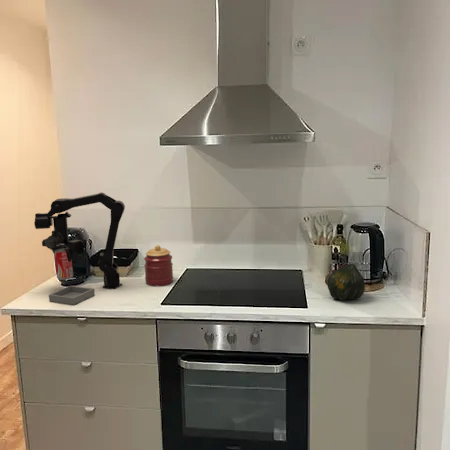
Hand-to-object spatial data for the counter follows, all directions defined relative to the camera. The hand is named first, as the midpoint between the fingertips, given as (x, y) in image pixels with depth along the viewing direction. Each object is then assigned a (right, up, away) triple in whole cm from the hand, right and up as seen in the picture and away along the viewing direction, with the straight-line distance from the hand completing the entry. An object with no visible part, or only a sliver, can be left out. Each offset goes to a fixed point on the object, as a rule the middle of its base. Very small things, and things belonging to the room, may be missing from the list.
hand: (63, 262), depth 212 cm
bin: (+7, -15, -10) cm, 19 cm away
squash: (+121, -13, -17) cm, 123 cm away
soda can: (0, -7, +1) cm, 8 cm away
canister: (+41, -10, +10) cm, 44 cm away
